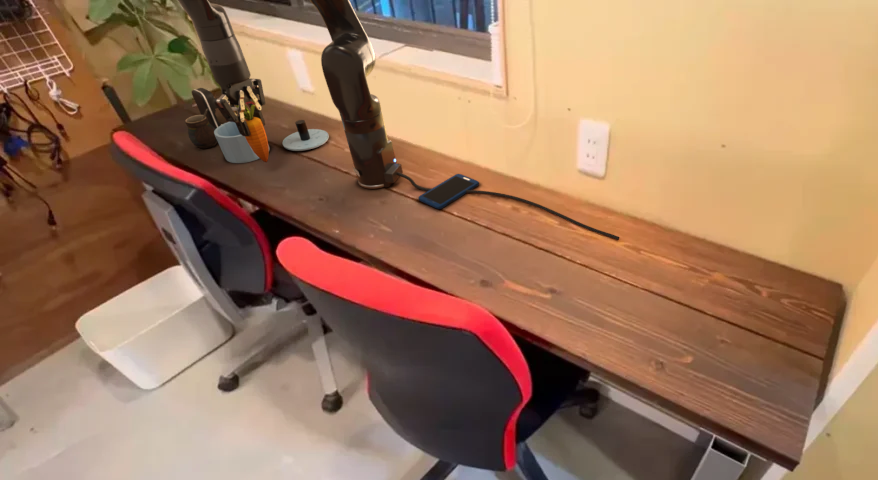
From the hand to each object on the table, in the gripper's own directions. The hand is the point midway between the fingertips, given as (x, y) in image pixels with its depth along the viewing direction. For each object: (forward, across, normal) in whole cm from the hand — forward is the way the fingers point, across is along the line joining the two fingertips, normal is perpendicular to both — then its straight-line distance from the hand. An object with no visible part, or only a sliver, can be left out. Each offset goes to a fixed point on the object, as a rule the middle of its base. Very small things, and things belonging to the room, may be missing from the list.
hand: (253, 130), depth 125 cm
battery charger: (+12, +22, +35) cm, 43 cm away
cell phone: (+12, +1, -49) cm, 50 cm away
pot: (+12, +9, +14) cm, 21 cm away
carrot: (+9, 0, 0) cm, 9 cm away
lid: (+11, +18, +1) cm, 21 cm away
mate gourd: (+12, +11, +29) cm, 33 cm away
